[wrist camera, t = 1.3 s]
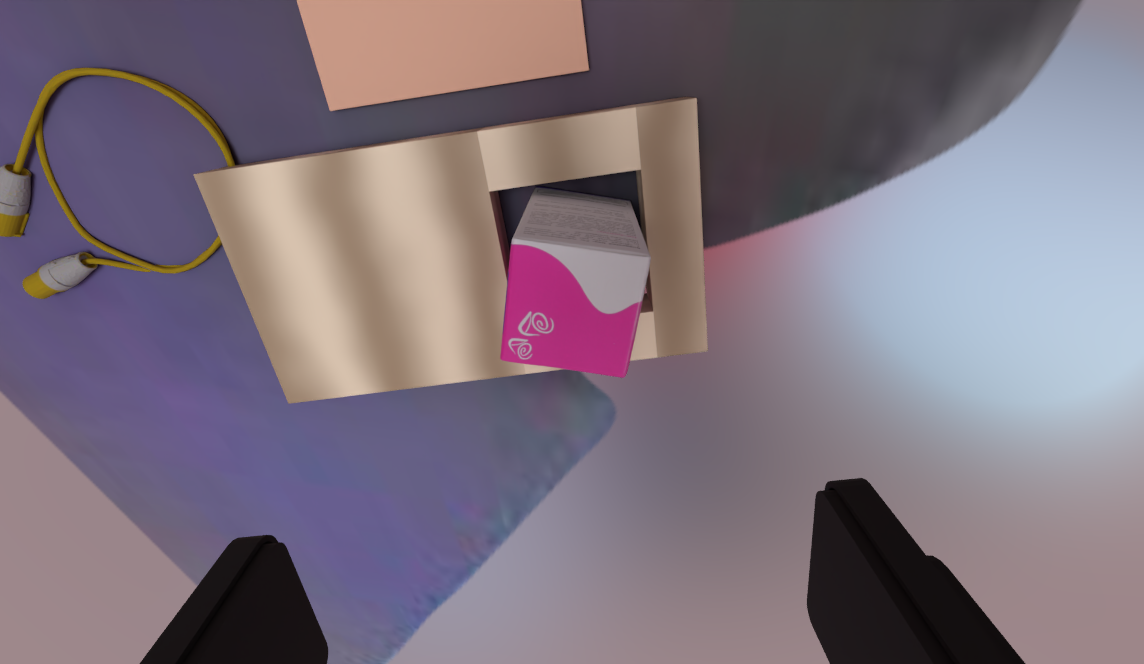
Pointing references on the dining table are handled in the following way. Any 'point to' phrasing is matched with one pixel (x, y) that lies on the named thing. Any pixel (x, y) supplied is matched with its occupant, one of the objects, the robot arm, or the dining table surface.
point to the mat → (438, 45)
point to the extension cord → (8, 191)
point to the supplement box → (575, 283)
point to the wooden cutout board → (444, 245)
